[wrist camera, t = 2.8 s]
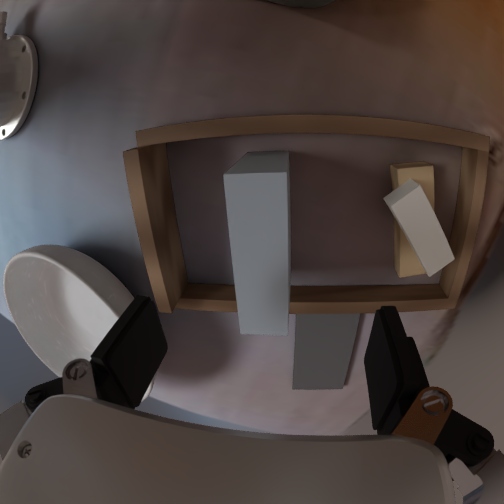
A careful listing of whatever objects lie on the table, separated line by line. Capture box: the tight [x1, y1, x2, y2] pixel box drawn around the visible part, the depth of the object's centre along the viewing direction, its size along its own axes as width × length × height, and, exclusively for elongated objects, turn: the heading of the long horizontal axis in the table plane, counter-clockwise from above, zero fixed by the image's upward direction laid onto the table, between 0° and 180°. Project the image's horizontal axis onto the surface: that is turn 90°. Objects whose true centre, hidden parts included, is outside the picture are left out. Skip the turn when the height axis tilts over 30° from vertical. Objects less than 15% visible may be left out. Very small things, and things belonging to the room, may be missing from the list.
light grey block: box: [223, 151, 291, 336], centre depth 19 cm, size 10×3×8 cm, turn 4°
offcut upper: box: [383, 178, 455, 277], centre depth 19 cm, size 7×3×2 cm, turn 41°
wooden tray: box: [123, 115, 490, 314], centre depth 20 cm, size 15×26×4 cm, turn 94°
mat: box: [292, 313, 360, 390], centre depth 28 cm, size 13×6×1 cm, turn 4°
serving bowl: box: [3, 245, 156, 401], centre depth 27 cm, size 21×21×7 cm
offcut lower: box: [390, 161, 434, 278], centre depth 20 cm, size 9×3×2 cm, turn 13°
